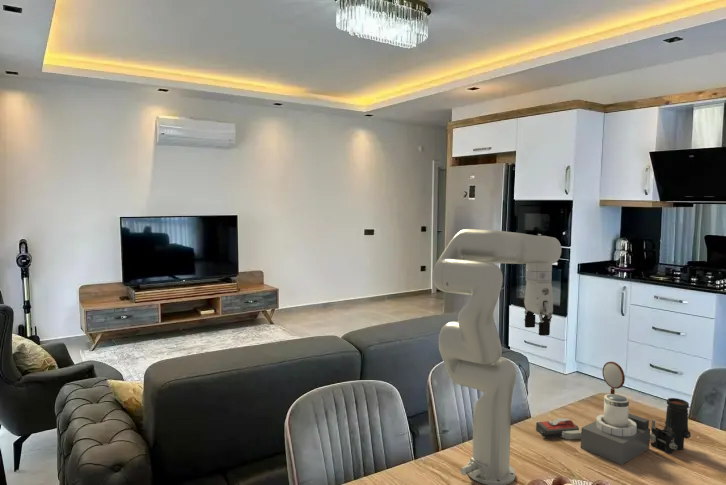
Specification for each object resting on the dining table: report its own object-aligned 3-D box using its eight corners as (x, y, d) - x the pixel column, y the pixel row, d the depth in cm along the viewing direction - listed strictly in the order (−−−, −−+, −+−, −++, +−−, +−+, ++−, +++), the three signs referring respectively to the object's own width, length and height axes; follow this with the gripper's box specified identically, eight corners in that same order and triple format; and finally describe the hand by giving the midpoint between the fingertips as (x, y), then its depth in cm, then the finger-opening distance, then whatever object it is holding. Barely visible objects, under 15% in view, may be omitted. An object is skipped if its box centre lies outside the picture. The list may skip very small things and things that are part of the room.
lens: (632, 432, 143) (633, 401, 142) (612, 433, 142) (613, 402, 141) (618, 423, 149) (619, 393, 149) (598, 424, 148) (599, 394, 148)
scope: (650, 399, 147) (673, 394, 151) (647, 444, 148) (671, 438, 152) (676, 409, 140) (700, 404, 144) (674, 457, 141) (697, 450, 145)
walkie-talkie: (546, 443, 149) (605, 438, 153) (547, 429, 149) (606, 424, 153) (531, 430, 158) (587, 425, 162) (531, 416, 158) (588, 412, 161)
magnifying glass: (623, 426, 160) (626, 365, 159) (619, 427, 160) (622, 366, 158) (603, 415, 168) (605, 358, 167) (599, 416, 168) (601, 358, 166)
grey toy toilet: (621, 464, 137) (623, 435, 136) (580, 447, 146) (581, 419, 146) (649, 448, 146) (650, 420, 145) (609, 433, 156) (610, 407, 155)
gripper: (564, 280, 144) (562, 338, 145) (537, 272, 161) (535, 324, 162) (539, 280, 143) (537, 338, 144) (515, 272, 160) (513, 324, 162)
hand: (536, 331), depth 153 cm, fingers open, 9 cm apart
